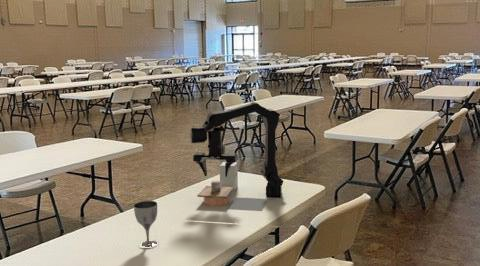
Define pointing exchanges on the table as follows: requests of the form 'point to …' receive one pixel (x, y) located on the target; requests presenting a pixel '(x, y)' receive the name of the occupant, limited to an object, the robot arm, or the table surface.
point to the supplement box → (229, 176)
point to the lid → (215, 191)
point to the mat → (248, 204)
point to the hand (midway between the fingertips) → (216, 176)
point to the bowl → (216, 201)
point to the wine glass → (146, 217)
